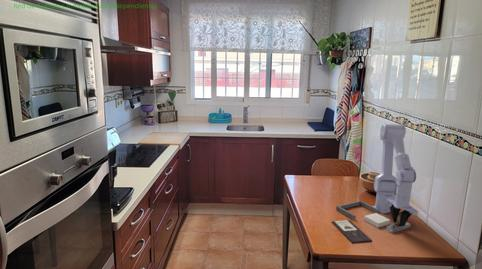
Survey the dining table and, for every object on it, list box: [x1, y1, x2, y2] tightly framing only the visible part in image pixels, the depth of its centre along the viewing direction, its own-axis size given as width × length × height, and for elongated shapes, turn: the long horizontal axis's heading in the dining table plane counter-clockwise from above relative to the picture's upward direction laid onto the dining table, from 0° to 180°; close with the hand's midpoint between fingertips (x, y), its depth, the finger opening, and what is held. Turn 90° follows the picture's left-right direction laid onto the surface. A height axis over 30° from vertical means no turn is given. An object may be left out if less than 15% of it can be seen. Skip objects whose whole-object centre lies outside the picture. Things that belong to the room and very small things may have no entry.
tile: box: [363, 212, 391, 228], centre depth 153 cm, size 8×8×2 cm
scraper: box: [385, 213, 411, 234], centre depth 147 cm, size 12×3×7 cm, turn 117°
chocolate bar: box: [331, 219, 373, 244], centre depth 144 cm, size 9×1×18 cm
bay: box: [335, 200, 380, 221], centre depth 164 cm, size 17×12×2 cm
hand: (399, 223), depth 148 cm, fingers open, 3 cm apart
